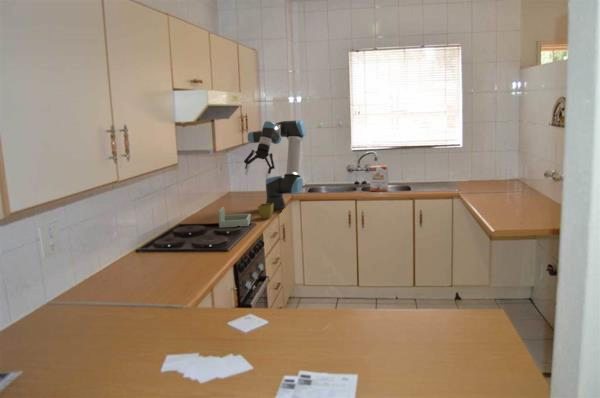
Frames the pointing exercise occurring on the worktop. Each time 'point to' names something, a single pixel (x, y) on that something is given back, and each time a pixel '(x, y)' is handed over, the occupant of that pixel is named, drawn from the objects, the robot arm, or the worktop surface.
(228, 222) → the pale green open box
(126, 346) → the worktop surface
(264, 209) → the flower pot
